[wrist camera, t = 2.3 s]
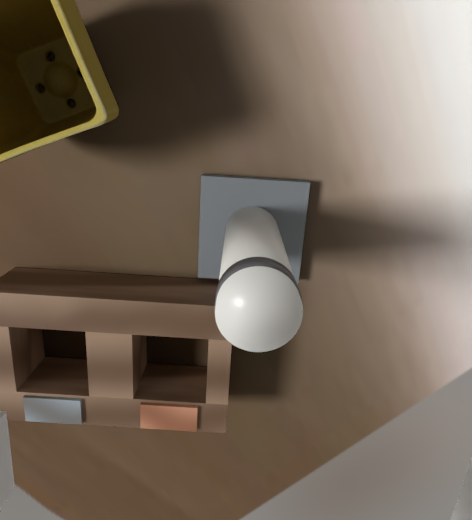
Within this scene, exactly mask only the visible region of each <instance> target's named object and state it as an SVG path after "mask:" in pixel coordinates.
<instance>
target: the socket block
mask: <svg viewBox="0 0 472 520" xmlns="http://www.w3.org/2000/svg"><path fill="white" fill-rule="evenodd" d="M218 283H219V280H212V279H196V278H181V277H165V276H149V275H133V274H117V273H101V272H85V271H69V270H54V269H38V268H22V267H15V268H13V269H12V270H10V271H9V272H8V273H6V274H5V275H3V276H2V277H0V411H5V412H6V414H7V420H19V421H34V422H50V423H66V424H85V425H101V426H117V427H134V428H148V429H164V430H181V431H199V432H215V433H226V424H227V409H228V393H229V378H230V363H231V348H232V344H231V343H230V342H229V341H227V340H226V339H225V337H224V336H223V335H222V334H221V332H220V331H219V329H218V326H217V323H216V319H215V298H216V290H217V286H218ZM42 329H50V330H66V331H82V332H85V336H86V352H87V359H74V358H58V357H45V353H44V342H43V332H42ZM147 336H162V337H178V338H194V339H209V344H208V366H207V367H203V366H187V365H171V364H154V363H147Z"/></svg>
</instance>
